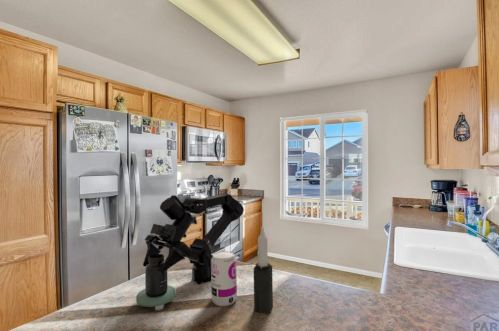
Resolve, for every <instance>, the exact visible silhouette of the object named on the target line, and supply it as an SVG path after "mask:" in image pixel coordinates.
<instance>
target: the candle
mask: <svg viewBox="0 0 499 331" xmlns="http://www.w3.org/2000/svg"><path fill="white" fill-rule="evenodd" d="M260 229H261V231H260V234H259V236H258V237H257V263H255V266H254V267H253V310H254V312H255V313H263V314H266V315H267V314H270V313H271V312H272V311H273V308H274V303H273V302H274V300H273V299H274V297H273V294H274V293H273V291H274V288H273V283H274V282H273V281H274V279H273V265H272V264H270V263H269V262H268V258H269V256H268V253H269V252H268V237H267V236H266V233H265V230H264V227H263V226H261V228H260Z"/></svg>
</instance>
